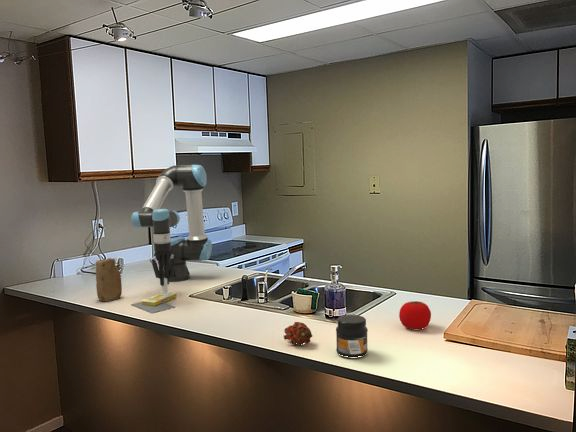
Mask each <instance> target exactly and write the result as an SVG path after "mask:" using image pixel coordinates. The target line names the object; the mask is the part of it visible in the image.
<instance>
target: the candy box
mask: <svg viewBox="0 0 576 432" xmlns="http://www.w3.org/2000/svg"><path fill="white" fill-rule="evenodd" d="M177 297H178V293H177V292H176V293H175V292H174V293H173V292H166V293H164V292H160V293H158V294H155V295H153V296H149V297H148V298H145V299H143V300H140V302H141V304H143V305H152V306H156V305H158V304H160V303H163V302H164V303H166V302H168V301H170V300H172V299H175V298H177Z"/></svg>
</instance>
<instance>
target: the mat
mask: <svg viewBox="0 0 576 432" xmlns="http://www.w3.org/2000/svg"><path fill="white" fill-rule="evenodd" d="M130 305H131V306H133V307H135V308H138V309H140V310H143V311H145V312H147V313H150V314H155V313H159V312H163V311H168V310H171V308H172V309H175V307H176V306H175V305H172V304H169V303H167V302H163V303H160V304H158V305H156V306H152V305H143V304H141V301H138V302H134V303H131V304H130ZM167 309H168V310H167Z"/></svg>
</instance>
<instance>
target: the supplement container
mask: <svg viewBox="0 0 576 432" xmlns="http://www.w3.org/2000/svg"><path fill="white" fill-rule="evenodd" d="M336 321H337V323H336V324H337V326H336V327H335V333H336V334H335V335H336V350H335V351H336V352H337V354H338V355H339V354H340V355H343V356H348V357H358V356H363V355H365V354H366V353H367V354H368V352H369V351H368V332H369V331H368V330H369V329H368V327H367V318H365V317H364V316H362V315H356V314H344V315H340V316H339V317H338V318H337V319H336ZM367 354H366V355H367ZM340 355H339V356H340ZM366 355H365V356H366ZM363 357H364V356H363Z"/></svg>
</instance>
